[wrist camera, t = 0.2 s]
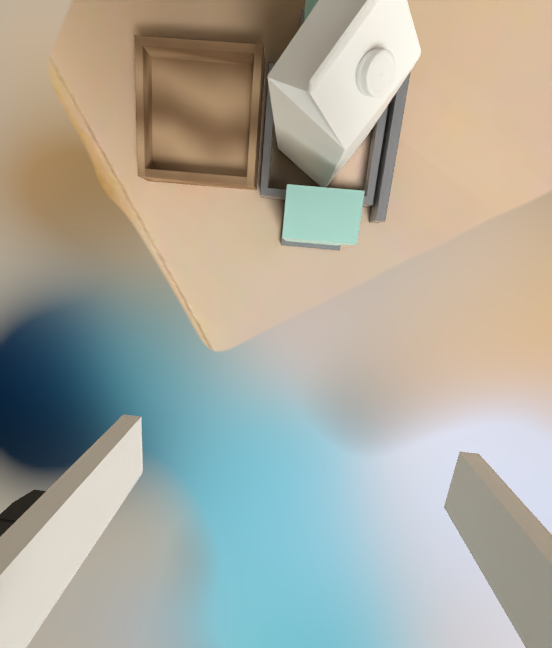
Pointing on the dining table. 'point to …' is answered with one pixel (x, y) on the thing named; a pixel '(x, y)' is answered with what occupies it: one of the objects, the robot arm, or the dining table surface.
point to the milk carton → (339, 80)
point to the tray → (198, 111)
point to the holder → (332, 203)
